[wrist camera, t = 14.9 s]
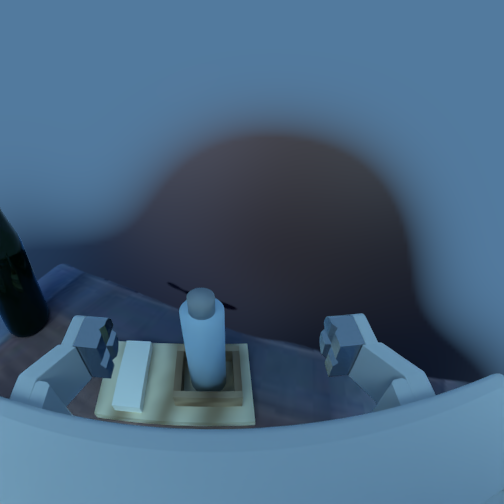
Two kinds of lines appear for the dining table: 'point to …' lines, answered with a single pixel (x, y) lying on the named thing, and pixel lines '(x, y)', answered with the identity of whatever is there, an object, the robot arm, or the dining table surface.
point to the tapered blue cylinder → (204, 339)
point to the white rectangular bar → (133, 377)
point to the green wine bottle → (19, 286)
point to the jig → (185, 391)
